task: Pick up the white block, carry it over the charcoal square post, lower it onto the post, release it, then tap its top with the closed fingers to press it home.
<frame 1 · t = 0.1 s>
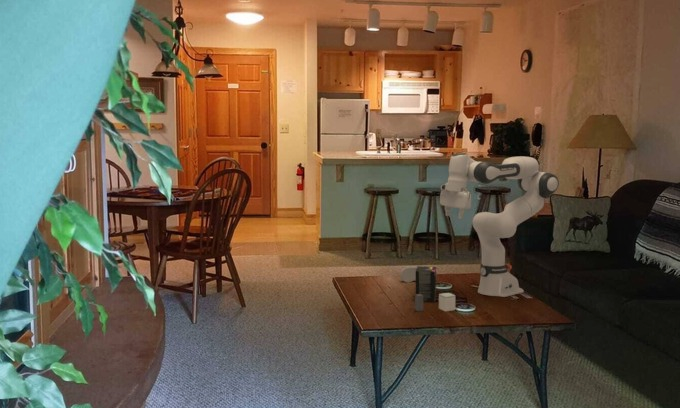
hand: (453, 217, 290), 39 cm above the table, tool pointing down, fingers open, 8 cm apart
white block: (446, 309, 276), on the table
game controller: (418, 281, 328), on the table
tampon box: (425, 299, 294), on the table
post: (419, 310, 275), on the table
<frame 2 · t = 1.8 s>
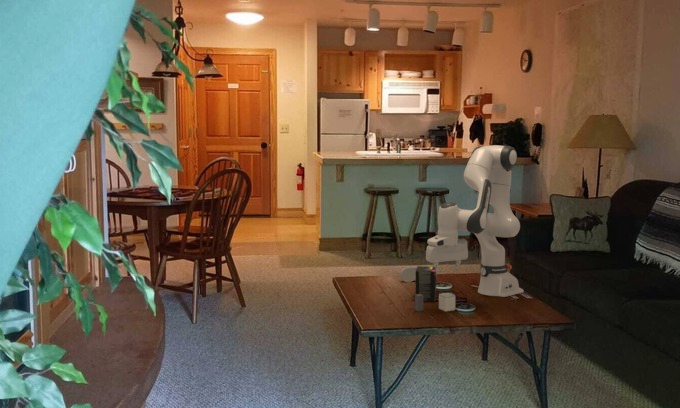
hand: (447, 270, 274), 17 cm above the table, tool pointing down, fingers open, 8 cm apart
nothing on the table moved.
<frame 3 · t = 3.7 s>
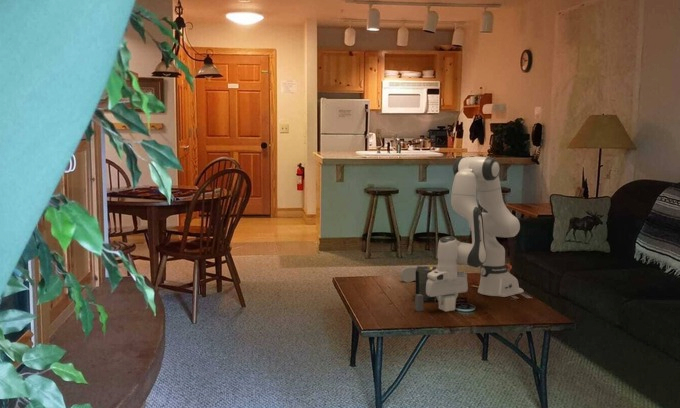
hand: (447, 303, 276), 2 cm above the table, tool pointing down, fingers closed on white block, 5 cm apart
white block: (446, 309, 276), on the table, touching gripper
everything else where it was.
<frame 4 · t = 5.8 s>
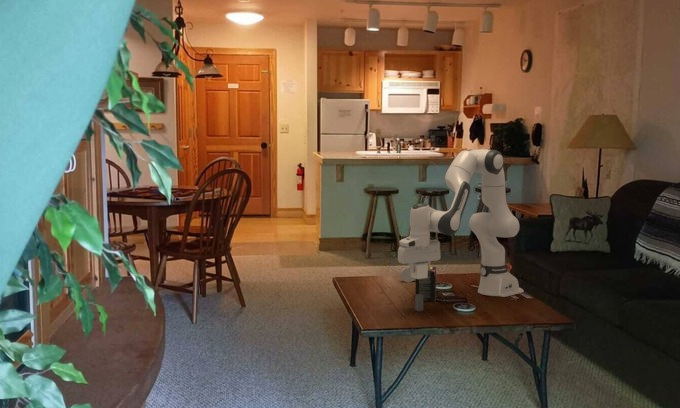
hand: (419, 271, 273), 17 cm above the table, tool pointing down, fingers closed on white block, 5 cm apart
white block: (419, 277, 273), point 15 cm above the table, touching gripper
everything else where it was.
when the fingers open (4 cm above the table, at t = 8.2 s): white block stays where it is, resting on post.
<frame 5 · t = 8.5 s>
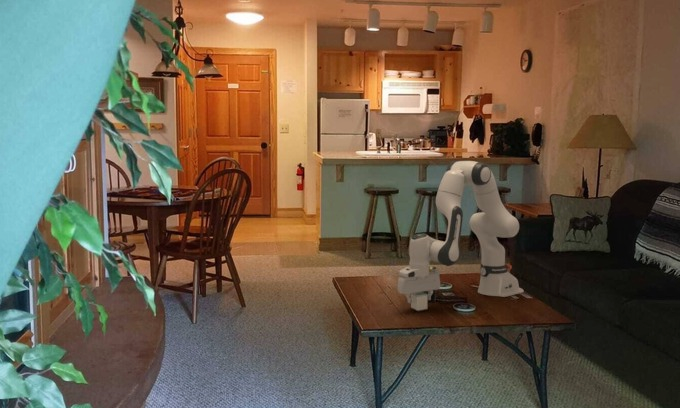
hand: (419, 301, 275), 4 cm above the table, tool pointing down, fingers open, 8 cm apart
white block: (419, 308, 275), point 1 cm above the table, touching post
everything else where it was.
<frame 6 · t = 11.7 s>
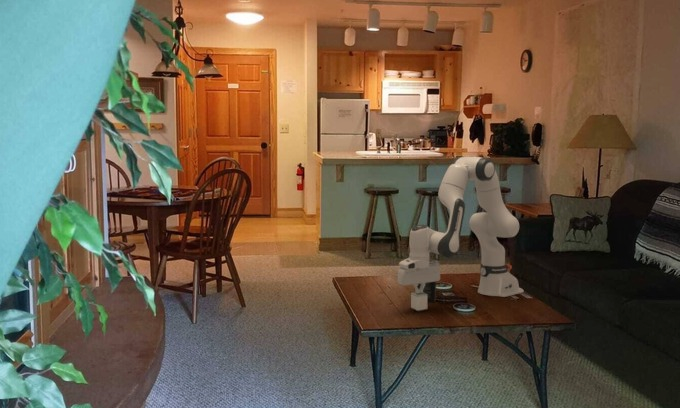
hand: (419, 292, 274), 8 cm above the table, tool pointing down, fingers closed
nothing on the table moved.
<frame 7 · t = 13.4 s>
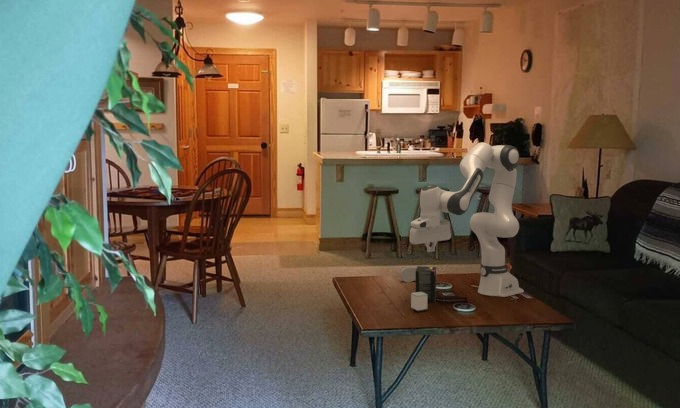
hand: (430, 251, 281), 25 cm above the table, tool pointing down, fingers closed
nothing on the table moved.
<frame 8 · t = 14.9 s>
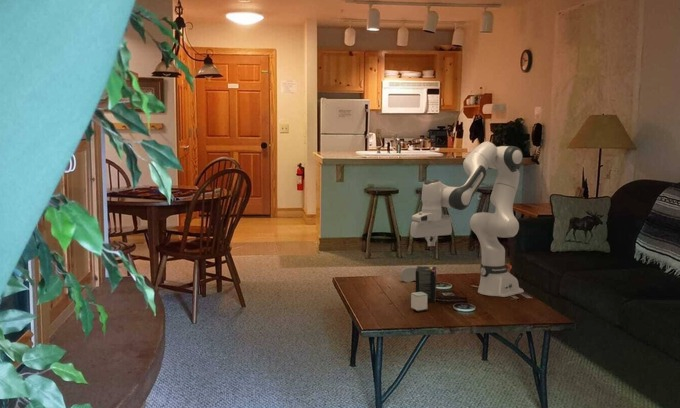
hand: (431, 245, 281), 27 cm above the table, tool pointing down, fingers closed
nothing on the table moved.
at the end: white block 0.1 cm from the post (horizontally); white block point 1.0 cm above the table; the gripper is holding nothing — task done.
